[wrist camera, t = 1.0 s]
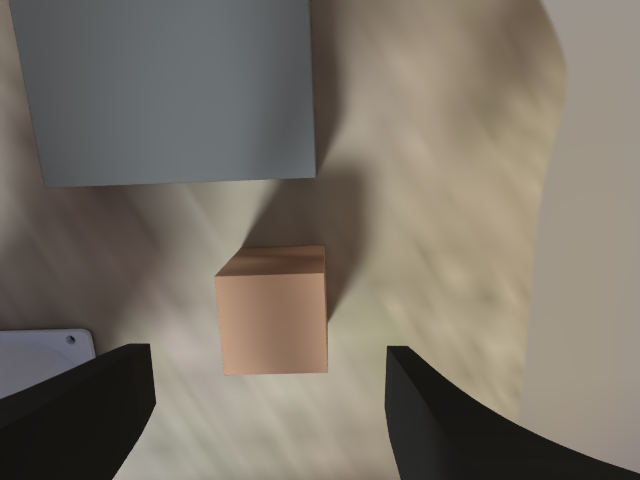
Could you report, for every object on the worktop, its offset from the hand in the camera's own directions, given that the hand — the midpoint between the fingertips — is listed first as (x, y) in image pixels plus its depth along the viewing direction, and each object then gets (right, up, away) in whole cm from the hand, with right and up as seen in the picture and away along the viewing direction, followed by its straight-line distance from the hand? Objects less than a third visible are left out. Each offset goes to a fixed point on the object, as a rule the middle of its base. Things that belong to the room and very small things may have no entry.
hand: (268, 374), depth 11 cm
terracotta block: (0, +2, +10) cm, 10 cm away
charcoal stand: (-5, +13, +7) cm, 16 cm away
